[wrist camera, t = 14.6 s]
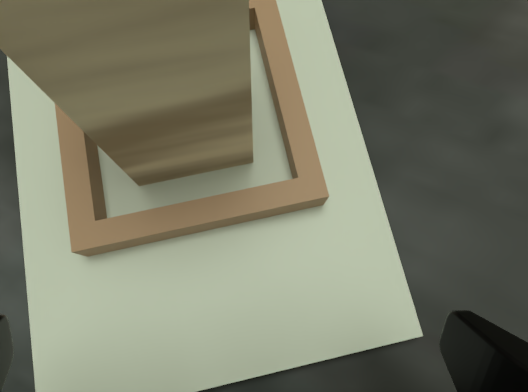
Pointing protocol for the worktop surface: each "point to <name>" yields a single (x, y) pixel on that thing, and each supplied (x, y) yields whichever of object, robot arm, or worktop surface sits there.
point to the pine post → (143, 77)
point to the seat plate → (211, 237)
